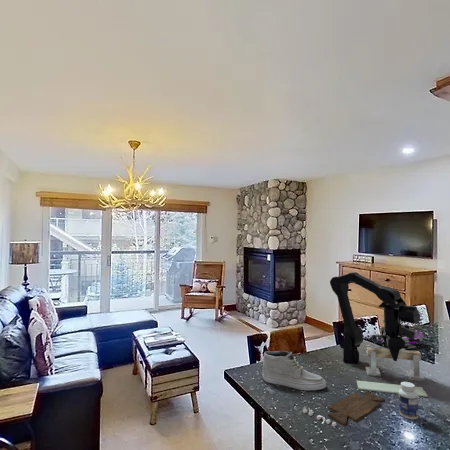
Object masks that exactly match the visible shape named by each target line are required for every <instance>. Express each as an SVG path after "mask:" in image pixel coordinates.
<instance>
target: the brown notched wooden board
mask: <svg viewBox="0 0 450 450" xmlns="http://www.w3.org/2000/svg"><path fill="white" fill-rule="evenodd" d="M385 400H386V399H385V398H384V397H381V396H379V395H376V394H374V393H372V392H369V391H366V392H363V396H362V395H360V394H358V393H356V392H354V393H351V394H349V395H348V396H346V397H345V398H343V399H340V400H339V401H337V402H334V403H333V404H331V405H329V406H328V410H329V411H330V413H329V412H328V413H327V417H329V418H330V420H331V419H332V420H334V422H336V423H339V424H340V425H342V426H346V425H347V422H348V419H350V420H352V421H353V422H355V423H356V422H359V421H360V420H362V419H363V418H365V417H366V416H368V415H370V414H371V413H372V412H374V411H375V410H377V409H378V408H379V407H381V405H382V403H383V402H385Z"/></svg>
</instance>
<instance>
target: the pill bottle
mask: <svg viewBox="0 0 450 450" xmlns="http://www.w3.org/2000/svg"><path fill="white" fill-rule="evenodd" d="M400 385H401V388H402V389H400V390H399V394H398V410H399V411H398V412H399V414H400V415H401V417H402V418H405V419H410V420H417V419H418V418H419V396H418V395H417V393H416V392H415V387H416V385H415V384H414V383H412V382H409V381H401V382H400Z"/></svg>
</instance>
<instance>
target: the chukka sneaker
mask: <svg viewBox="0 0 450 450" xmlns="http://www.w3.org/2000/svg"><path fill="white" fill-rule="evenodd" d="M262 379H263V381H264V382H266V383H269V384H274V385H279V386H285V387H288V388H293V389H297V390H301V391H319V390H323V389H325V388H326V387H327V383H326V380H325V379H324V378H323V377H322V376H321V375H319V374H317V373H313V372H310V371H308V370H306V369H304V366H302V365H300V364H299V362H298V361H297V360H296V359H295V357H294V355H293V352H292V351H287V350H278V351H264V353H263V363H262Z"/></svg>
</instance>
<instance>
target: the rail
mask: <svg viewBox="0 0 450 450" xmlns="http://www.w3.org/2000/svg"><path fill="white" fill-rule="evenodd" d="M370 351H375V352H376V358H380V359H389V360H390V359H392V360H393V358H392V356H391V353H390V351H389V349H387V348H384V347H368V346H366V356H367V357H368V358H369V357H370ZM413 355H419V362H421V361H422V354H421V352H420V351H419V350H407V349H405V350H400V351H399V354H398V358H397V360H403V361H404V360H405V361H410V360H413Z"/></svg>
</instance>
